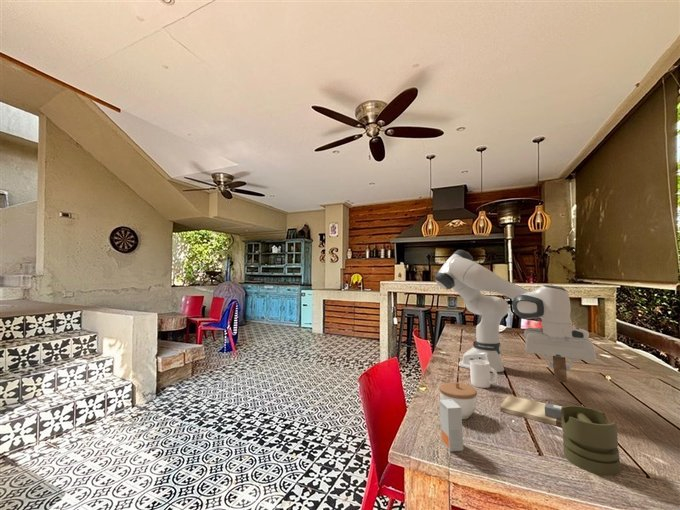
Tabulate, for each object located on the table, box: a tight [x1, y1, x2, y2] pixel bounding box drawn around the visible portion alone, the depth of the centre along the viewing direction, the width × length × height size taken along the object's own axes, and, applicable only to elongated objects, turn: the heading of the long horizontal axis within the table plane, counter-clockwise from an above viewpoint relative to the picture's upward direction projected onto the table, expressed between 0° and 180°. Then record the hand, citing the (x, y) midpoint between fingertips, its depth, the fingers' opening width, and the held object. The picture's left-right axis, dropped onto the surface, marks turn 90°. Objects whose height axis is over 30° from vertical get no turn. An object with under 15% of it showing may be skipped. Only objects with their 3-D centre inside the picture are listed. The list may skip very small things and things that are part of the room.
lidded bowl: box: [438, 381, 478, 420], centre depth 104 cm, size 13×13×11 cm
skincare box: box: [438, 399, 464, 453], centre depth 85 cm, size 6×4×12 cm
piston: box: [561, 405, 621, 477], centre depth 77 cm, size 11×12×11 cm
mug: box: [469, 359, 499, 389], centre depth 130 cm, size 12×8×10 cm
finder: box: [545, 402, 563, 420], centre depth 98 cm, size 6×4×3 cm, turn 49°
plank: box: [499, 395, 562, 428], centre depth 103 cm, size 24×14×2 cm, turn 49°
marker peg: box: [552, 354, 568, 383], centre depth 103 cm, size 4×4×10 cm
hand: (559, 368), depth 103 cm, fingers closed on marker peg, 4 cm apart
